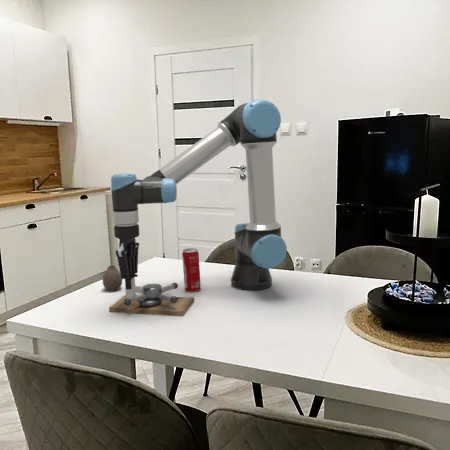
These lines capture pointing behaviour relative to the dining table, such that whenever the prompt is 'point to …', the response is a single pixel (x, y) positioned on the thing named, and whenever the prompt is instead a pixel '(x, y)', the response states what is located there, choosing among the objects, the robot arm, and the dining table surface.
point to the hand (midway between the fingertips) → (131, 297)
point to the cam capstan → (152, 295)
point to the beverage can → (191, 270)
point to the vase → (112, 279)
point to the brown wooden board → (155, 307)
